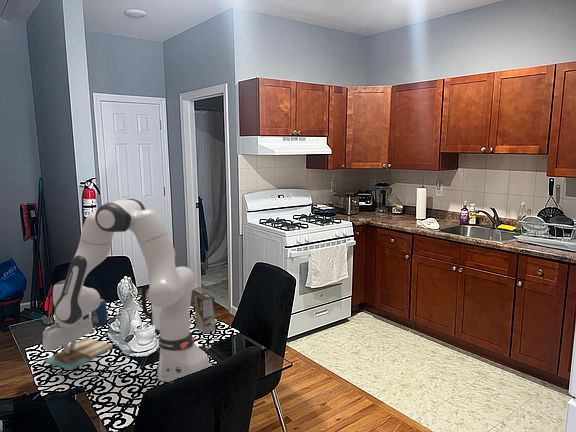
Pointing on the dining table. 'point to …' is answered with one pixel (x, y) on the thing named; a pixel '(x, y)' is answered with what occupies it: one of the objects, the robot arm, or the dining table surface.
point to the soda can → (99, 314)
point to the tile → (68, 356)
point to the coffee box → (205, 312)
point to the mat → (65, 365)
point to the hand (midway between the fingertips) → (70, 351)
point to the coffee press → (154, 310)
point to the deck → (91, 347)
